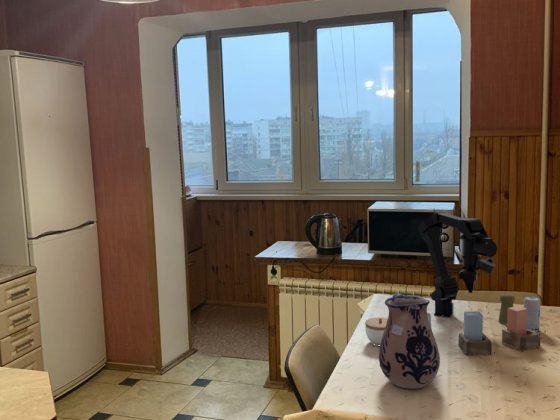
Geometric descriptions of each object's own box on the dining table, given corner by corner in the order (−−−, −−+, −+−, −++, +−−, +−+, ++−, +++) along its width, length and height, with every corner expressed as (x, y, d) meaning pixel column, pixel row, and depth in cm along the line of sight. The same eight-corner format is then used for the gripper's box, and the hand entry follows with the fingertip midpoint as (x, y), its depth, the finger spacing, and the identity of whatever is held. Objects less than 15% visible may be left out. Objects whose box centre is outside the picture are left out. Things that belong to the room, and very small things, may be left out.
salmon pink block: (506, 341, 192) (507, 308, 190) (516, 338, 194) (517, 305, 193) (516, 344, 188) (516, 311, 187) (526, 342, 191) (527, 308, 189)
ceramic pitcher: (396, 400, 153) (396, 313, 149) (364, 370, 173) (363, 293, 169) (451, 390, 157) (452, 306, 154) (414, 362, 177) (413, 287, 174)
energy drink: (539, 328, 205) (540, 297, 203) (539, 332, 200) (540, 301, 198) (523, 326, 207) (524, 295, 205) (523, 331, 202) (524, 299, 200)
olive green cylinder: (517, 324, 210) (518, 296, 208) (501, 324, 210) (502, 296, 208) (511, 318, 216) (512, 291, 214) (496, 319, 216) (496, 292, 214)
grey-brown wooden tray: (501, 342, 192) (502, 329, 191) (518, 338, 196) (518, 325, 195) (523, 350, 184) (523, 337, 183) (540, 346, 187) (540, 333, 187)
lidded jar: (359, 343, 196) (358, 317, 195) (378, 335, 203) (378, 311, 201) (382, 351, 188) (382, 324, 186) (402, 343, 195) (402, 317, 193)
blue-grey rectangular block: (463, 345, 190) (464, 311, 188) (478, 344, 190) (478, 311, 188) (467, 349, 186) (467, 315, 184) (482, 349, 186) (482, 314, 184)
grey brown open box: (458, 345, 191) (458, 332, 190) (482, 344, 190) (482, 332, 190) (466, 355, 182) (466, 342, 181) (491, 354, 182) (491, 341, 181)
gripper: (490, 259, 194) (490, 301, 196) (497, 248, 210) (496, 288, 212) (458, 256, 199) (457, 298, 201) (466, 247, 215) (466, 285, 217)
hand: (470, 292), depth 208 cm, fingers closed
